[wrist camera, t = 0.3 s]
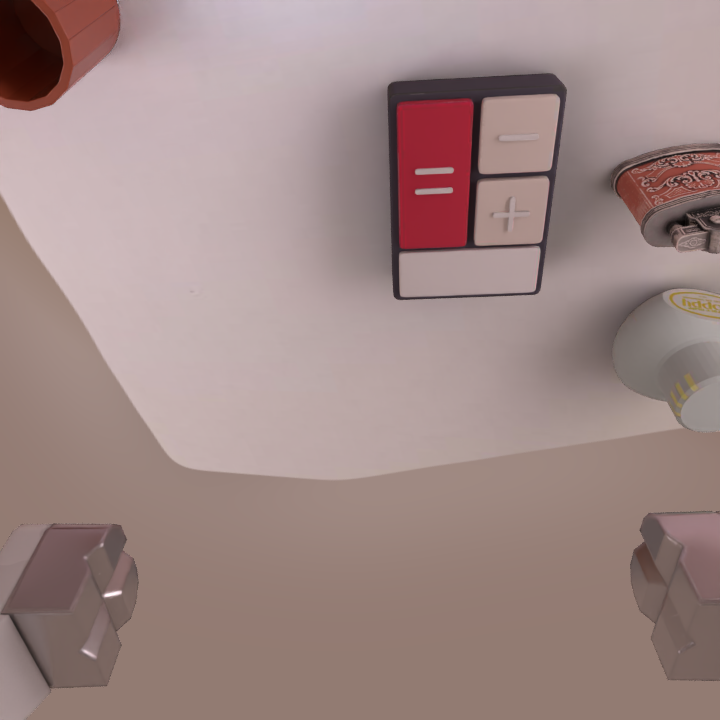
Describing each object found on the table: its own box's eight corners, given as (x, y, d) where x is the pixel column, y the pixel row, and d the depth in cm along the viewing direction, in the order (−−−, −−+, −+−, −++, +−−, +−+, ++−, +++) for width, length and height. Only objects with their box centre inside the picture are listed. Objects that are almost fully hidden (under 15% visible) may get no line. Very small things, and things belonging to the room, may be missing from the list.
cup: (-4, -65, 37) (-83, -40, 31) (113, -47, 38) (60, -19, 31) (20, 56, 41) (-45, 101, 35) (125, 71, 42) (80, 117, 35)
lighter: (609, 202, 47) (655, 276, 40) (611, 158, 45) (660, 228, 38) (725, 181, 46) (795, 253, 39) (732, 135, 44) (809, 202, 36)
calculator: (571, 87, 39) (542, 300, 48) (555, 70, 42) (530, 272, 51) (388, 97, 39) (393, 306, 48) (386, 79, 42) (392, 277, 52)
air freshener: (589, 354, 57) (624, 437, 49) (628, 275, 51) (673, 355, 44) (706, 368, 58) (758, 452, 50) (756, 292, 52) (822, 373, 45)
